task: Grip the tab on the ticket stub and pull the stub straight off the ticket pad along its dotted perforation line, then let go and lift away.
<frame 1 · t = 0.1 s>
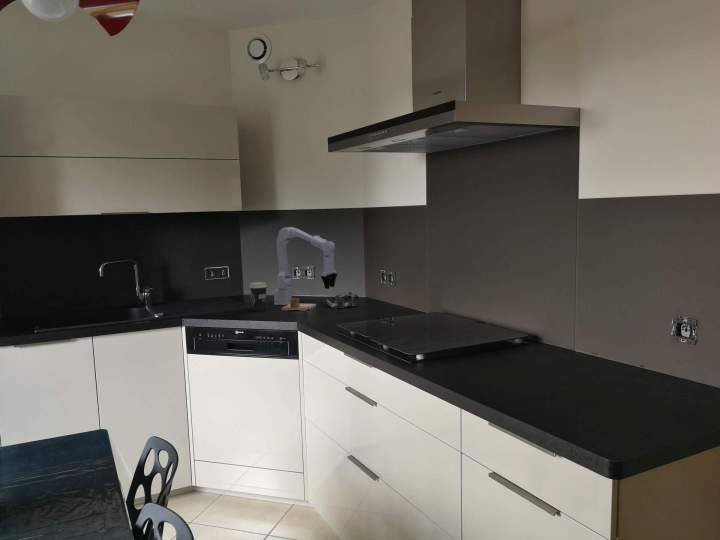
hand: (329, 287, 317), 10 cm above the worktop, tool pointing down, fingers open, 7 cm apart
coffee cup: (259, 311, 308), on the worktop
ticket pad: (301, 307, 314), on the worktop
foil: (342, 307, 312), on the worktop
stub: (295, 304, 306), point 3 cm above the worktop, slide at 0.0 cm
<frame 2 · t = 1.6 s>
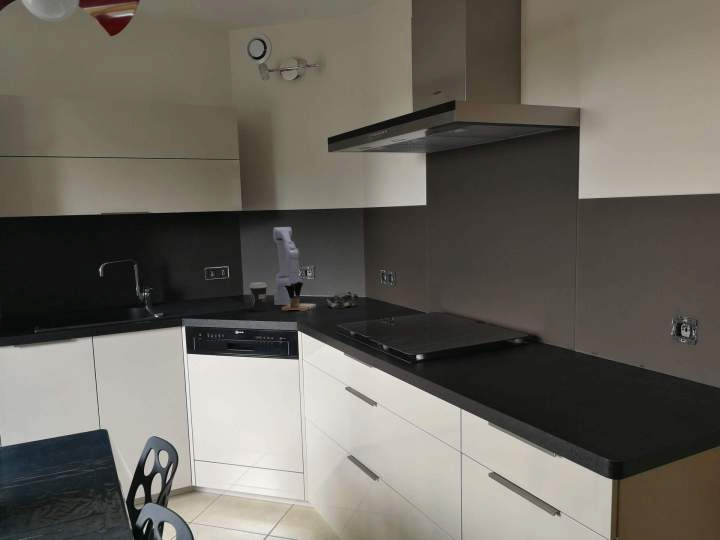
hand: (294, 297, 305), 7 cm above the worktop, tool pointing down, fingers open, 7 cm apart
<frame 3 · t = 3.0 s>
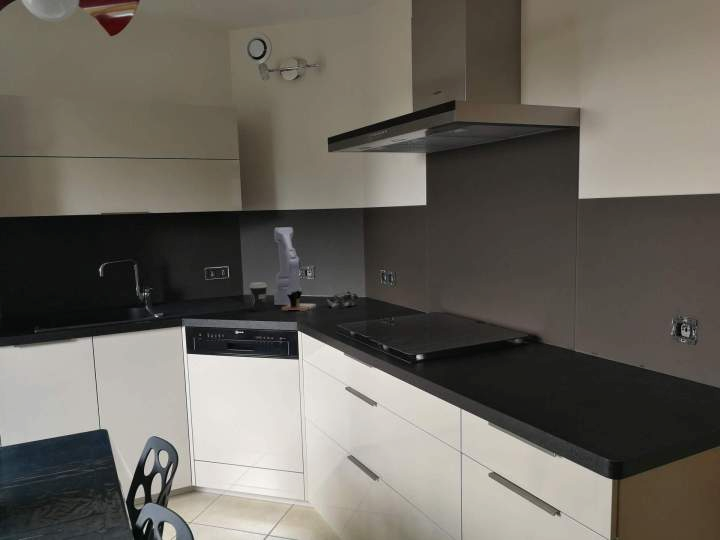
hand: (295, 305, 306), 2 cm above the worktop, tool pointing down, fingers closed on stub, 3 cm apart
stub: (295, 304, 306), point 3 cm above the worktop, slide at 0.0 cm, touching gripper
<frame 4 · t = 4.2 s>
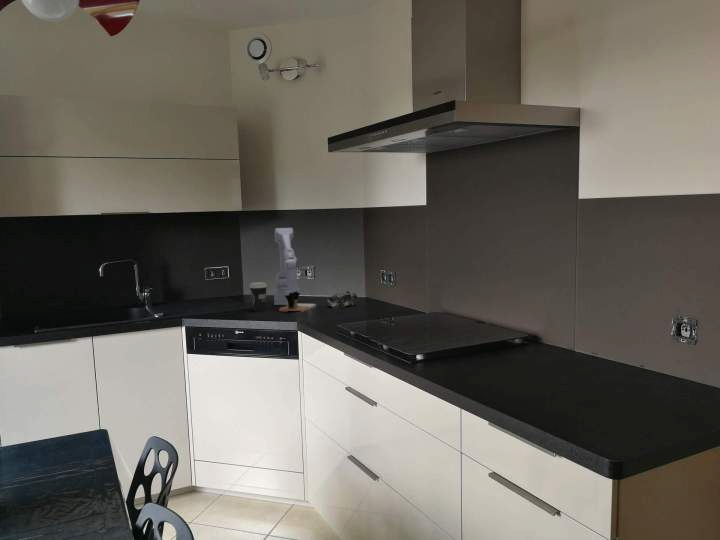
hand: (292, 306, 303), 2 cm above the worktop, tool pointing down, fingers closed on stub, 3 cm apart
stub: (293, 305, 304), point 3 cm above the worktop, slide at 2.8 cm, touching gripper
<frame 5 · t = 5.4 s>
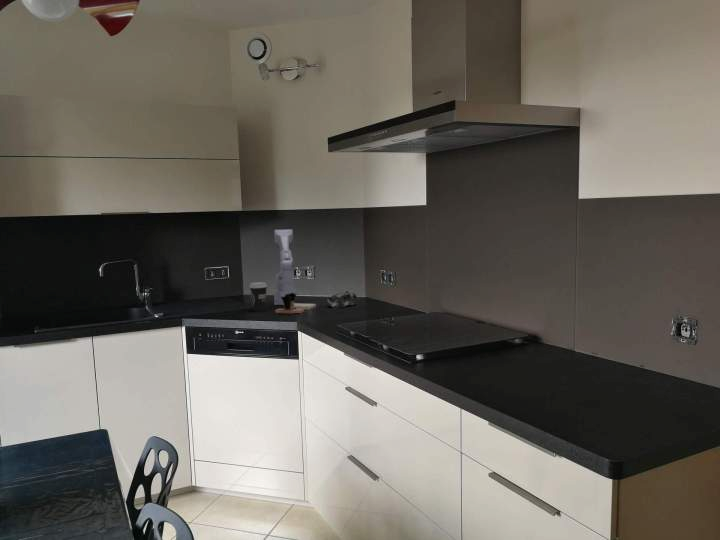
hand: (289, 308, 299), 2 cm above the worktop, tool pointing down, fingers closed on stub, 3 cm apart
stub: (289, 306, 299), point 3 cm above the worktop, slide at 7.5 cm, touching gripper
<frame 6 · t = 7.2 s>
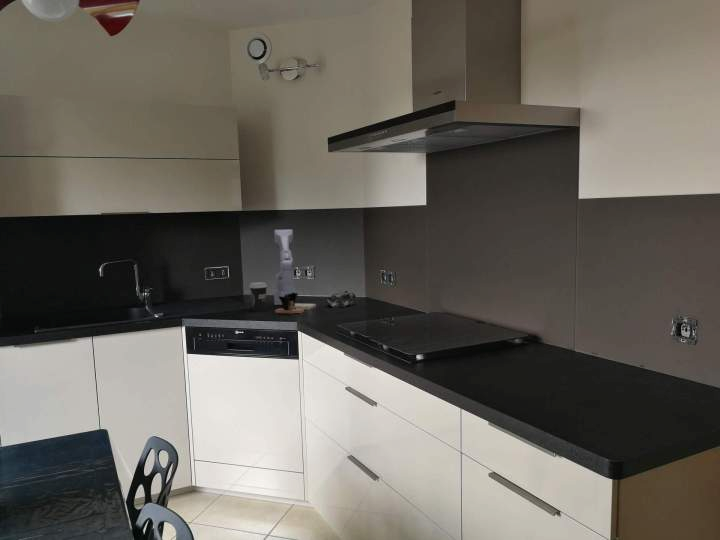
hand: (289, 308, 299), 2 cm above the worktop, tool pointing down, fingers open, 7 cm apart
stub: (289, 306, 299), point 3 cm above the worktop, slide at 7.5 cm
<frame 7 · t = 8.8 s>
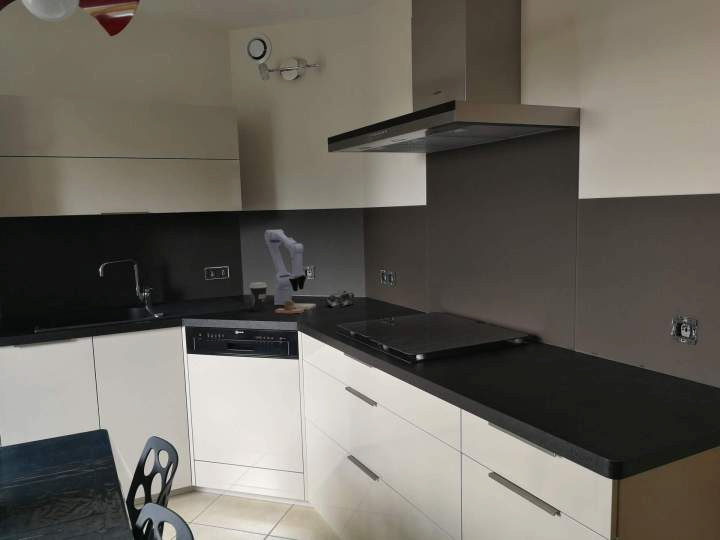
hand: (298, 290, 315), 9 cm above the worktop, tool pointing down, fingers open, 7 cm apart
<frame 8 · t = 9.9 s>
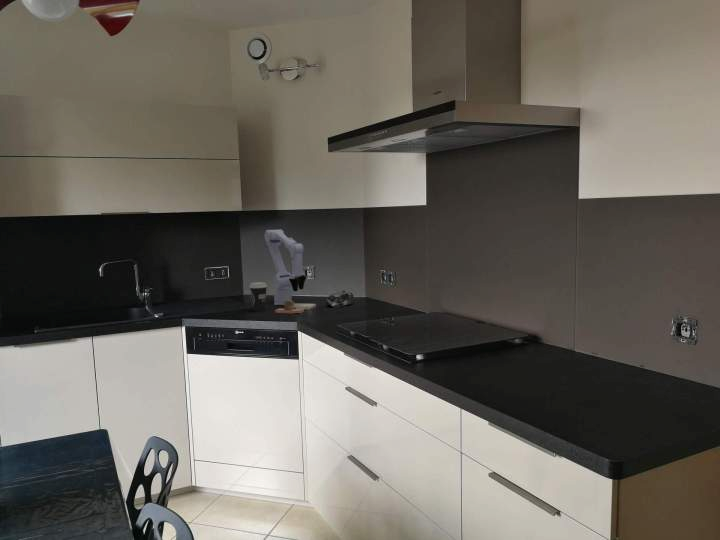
hand: (298, 290, 315), 9 cm above the worktop, tool pointing down, fingers open, 7 cm apart
at the end: stub slide at 7.5 cm; the gripper is holding nothing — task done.
